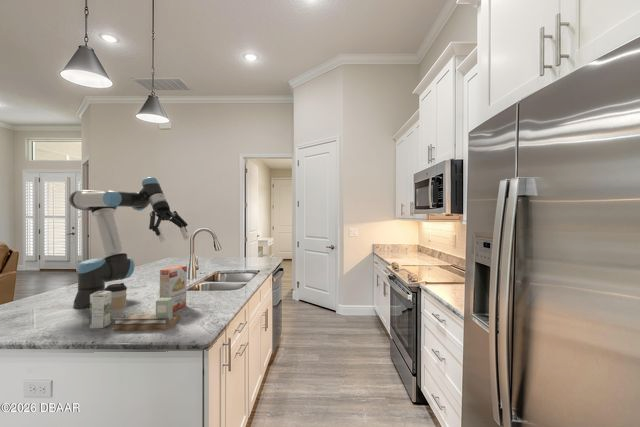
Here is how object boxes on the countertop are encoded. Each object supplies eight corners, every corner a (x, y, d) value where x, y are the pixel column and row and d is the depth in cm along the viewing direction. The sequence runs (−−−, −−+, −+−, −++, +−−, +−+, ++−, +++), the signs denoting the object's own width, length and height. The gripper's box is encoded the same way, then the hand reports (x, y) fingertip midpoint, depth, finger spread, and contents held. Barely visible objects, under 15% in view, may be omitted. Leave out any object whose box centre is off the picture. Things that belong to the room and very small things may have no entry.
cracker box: (169, 313, 156) (169, 270, 156) (158, 313, 157) (158, 269, 157) (187, 305, 169) (187, 265, 169) (176, 305, 170) (177, 265, 170)
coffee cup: (110, 321, 145) (110, 287, 145) (100, 317, 149) (100, 284, 149) (130, 315, 152) (131, 283, 152) (120, 312, 157) (121, 281, 157)
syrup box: (97, 324, 141) (97, 290, 141) (111, 323, 141) (111, 290, 141) (88, 328, 135) (89, 293, 135) (103, 328, 135) (104, 293, 135)
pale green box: (155, 322, 138) (155, 300, 138) (160, 318, 143) (160, 297, 143) (167, 322, 138) (167, 300, 138) (172, 318, 143) (172, 297, 143)
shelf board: (112, 330, 133) (112, 319, 133) (131, 319, 147) (131, 309, 147) (167, 329, 134) (167, 318, 134) (180, 318, 148) (180, 308, 148)
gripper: (139, 199, 154) (156, 237, 148) (184, 200, 175) (199, 234, 170) (131, 208, 157) (147, 246, 151) (176, 208, 178) (191, 241, 173)
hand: (175, 239), depth 161 cm, fingers open, 13 cm apart
